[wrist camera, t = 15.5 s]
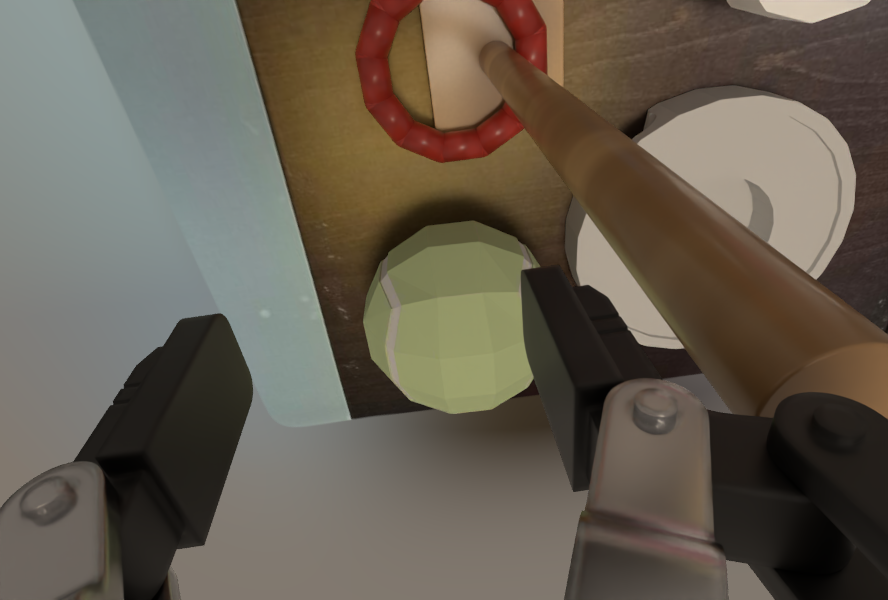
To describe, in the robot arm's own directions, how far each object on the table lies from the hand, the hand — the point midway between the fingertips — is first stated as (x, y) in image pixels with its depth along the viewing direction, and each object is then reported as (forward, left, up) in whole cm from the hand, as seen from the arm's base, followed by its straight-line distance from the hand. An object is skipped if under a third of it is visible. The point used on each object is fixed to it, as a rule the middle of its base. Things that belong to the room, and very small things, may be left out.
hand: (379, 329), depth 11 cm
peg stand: (+7, 0, -34) cm, 35 cm away
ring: (+4, 0, -31) cm, 32 cm away
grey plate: (+24, -16, -34) cm, 45 cm away
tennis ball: (+2, -18, -34) cm, 39 cm away
